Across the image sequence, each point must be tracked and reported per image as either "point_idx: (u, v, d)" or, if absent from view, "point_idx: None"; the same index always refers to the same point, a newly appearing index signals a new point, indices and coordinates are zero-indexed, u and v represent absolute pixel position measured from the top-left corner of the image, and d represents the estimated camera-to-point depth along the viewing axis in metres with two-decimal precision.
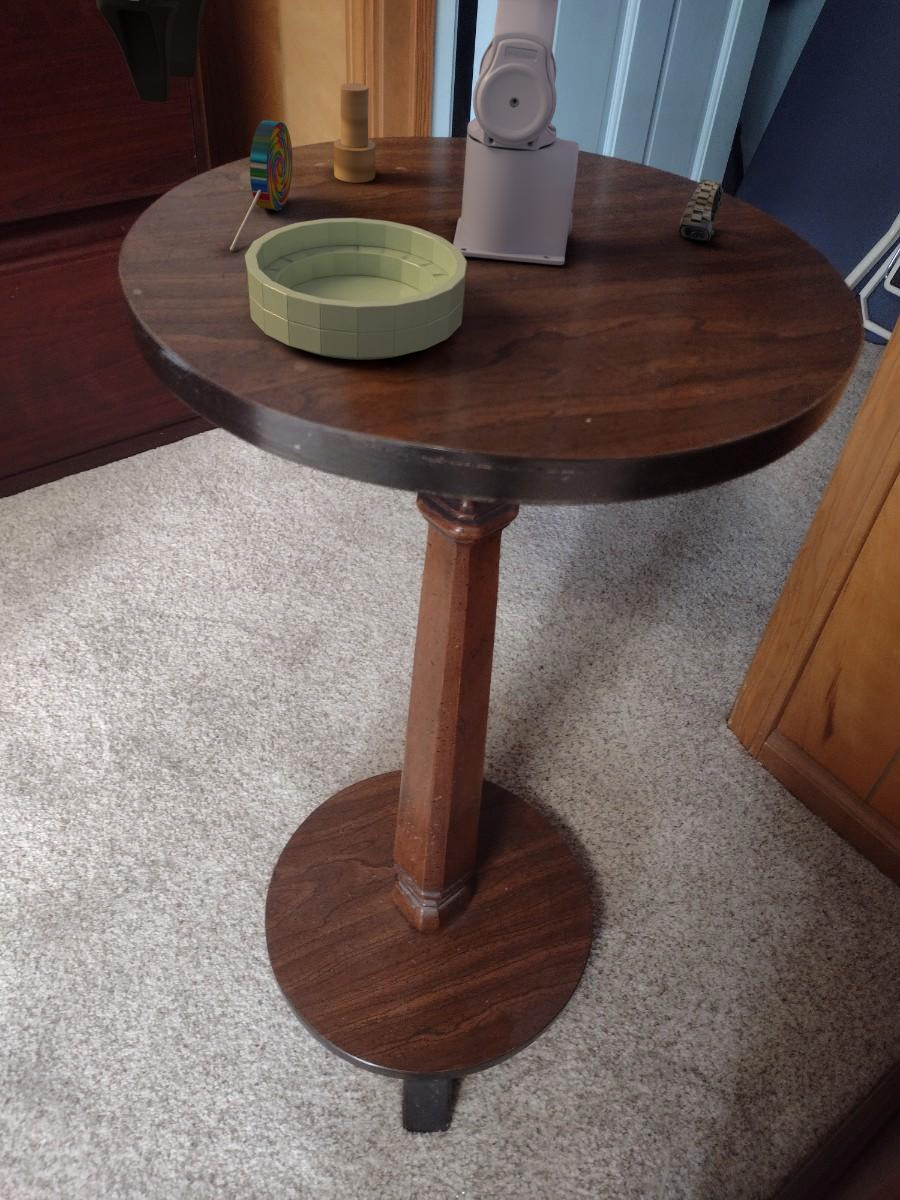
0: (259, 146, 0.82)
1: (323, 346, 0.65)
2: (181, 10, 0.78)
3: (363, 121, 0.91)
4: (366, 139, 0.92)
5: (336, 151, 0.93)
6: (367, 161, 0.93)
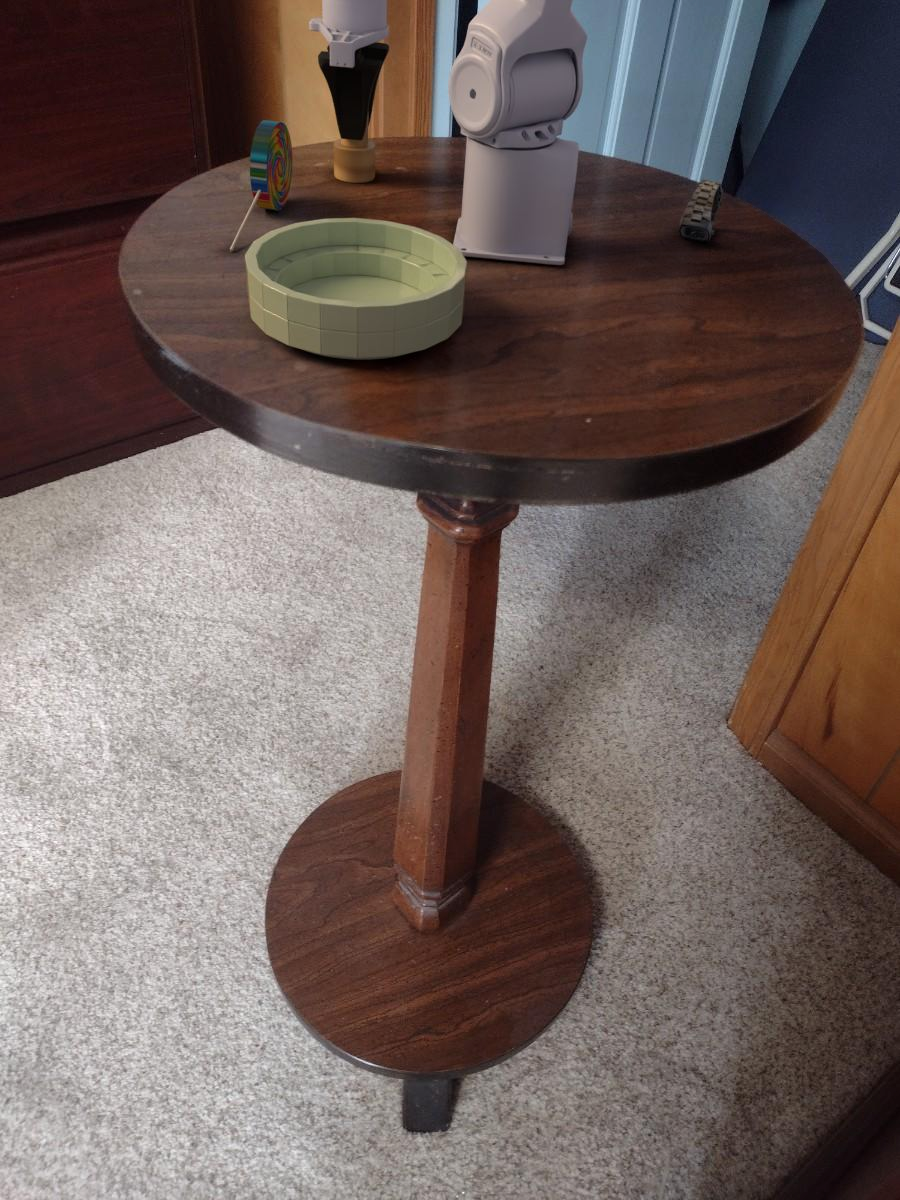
0: (259, 146, 0.82)
1: (323, 346, 0.65)
2: None
3: None
4: (366, 139, 0.92)
5: (336, 152, 0.93)
6: (367, 161, 0.93)
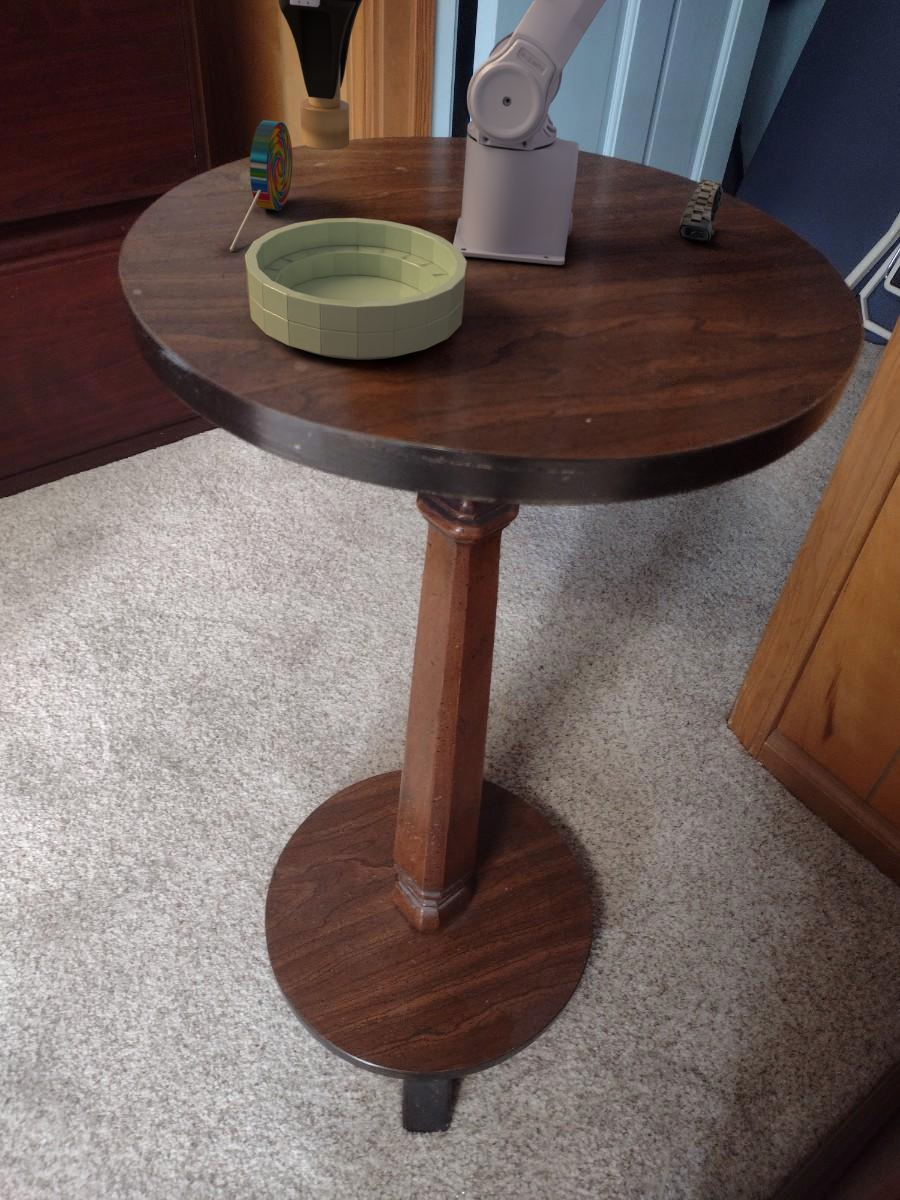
0: (259, 146, 0.82)
1: (323, 346, 0.65)
2: None
3: None
4: (338, 98, 0.79)
5: (302, 113, 0.79)
6: (339, 124, 0.80)
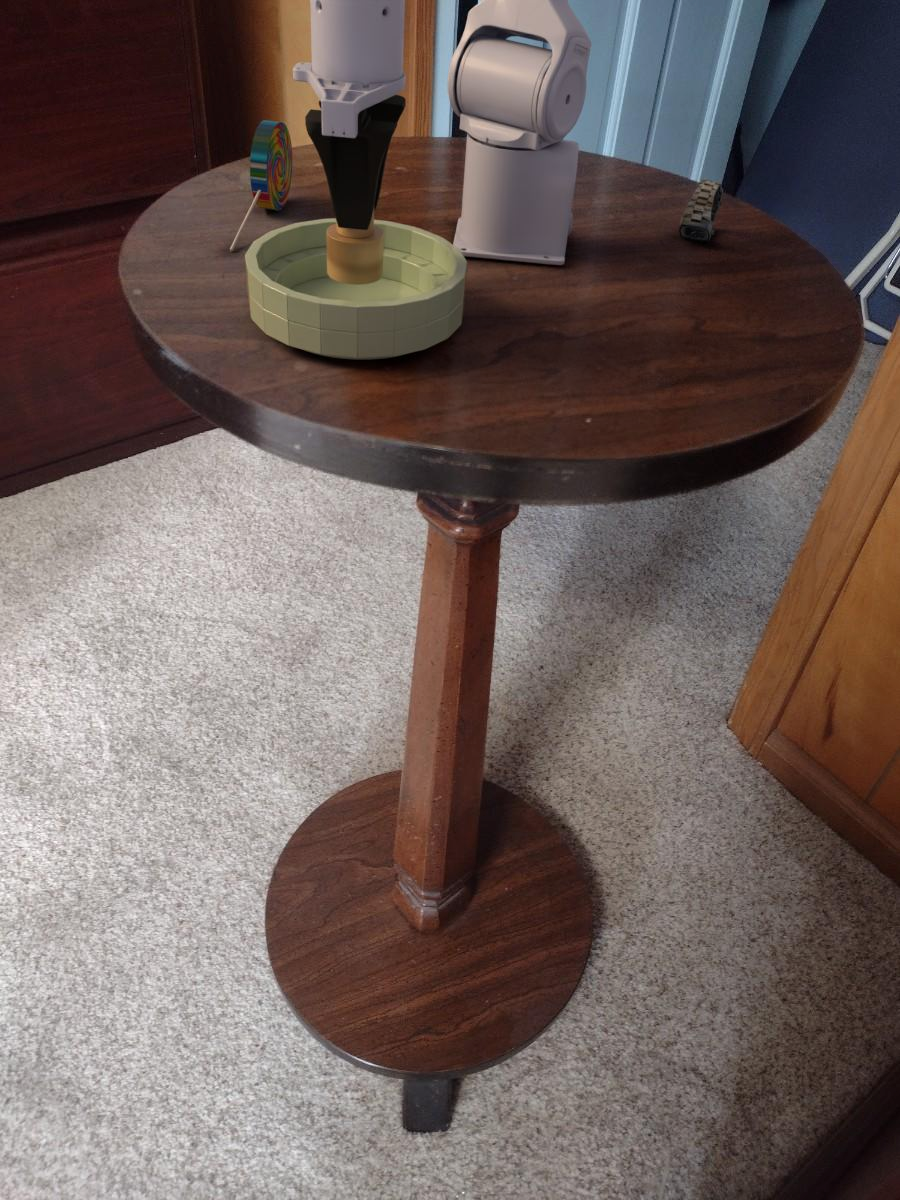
0: (259, 146, 0.82)
1: (323, 346, 0.65)
2: None
3: None
4: (371, 226, 0.67)
5: (329, 243, 0.67)
6: (373, 256, 0.67)
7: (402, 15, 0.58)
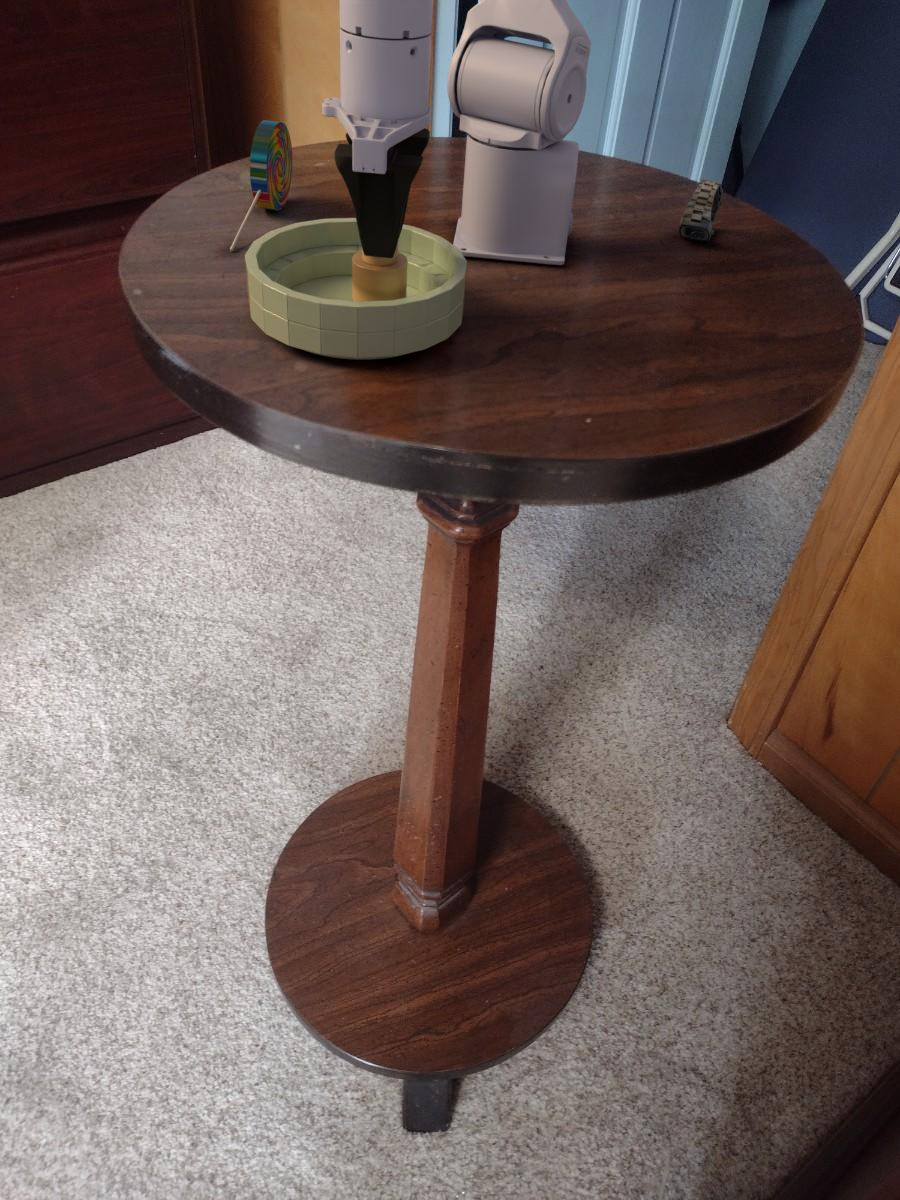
0: (259, 146, 0.82)
1: (323, 346, 0.65)
2: None
3: None
4: (396, 254, 0.69)
5: (355, 270, 0.69)
6: (397, 283, 0.69)
7: (429, 54, 0.60)
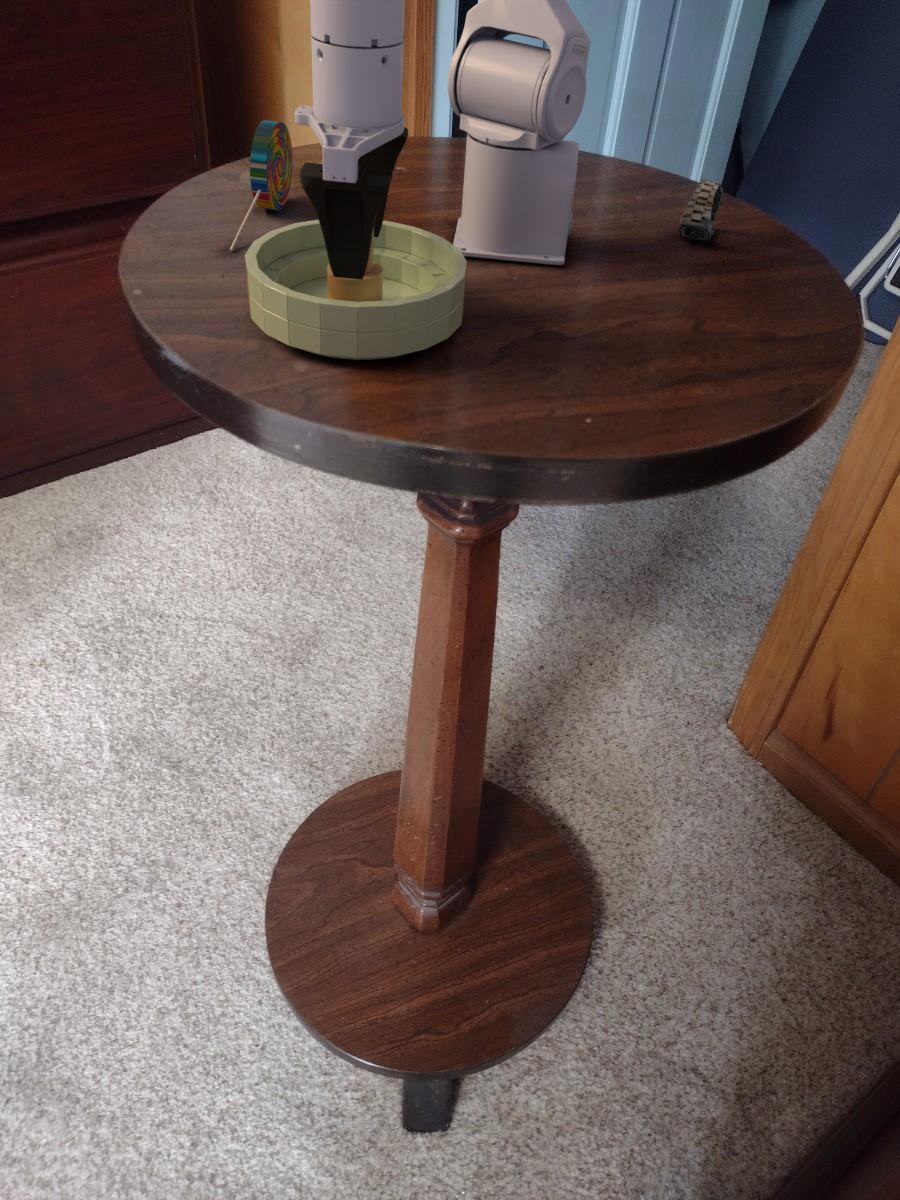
0: (259, 146, 0.82)
1: (323, 346, 0.65)
2: (373, 167, 0.68)
3: None
4: (371, 263, 0.69)
5: (330, 280, 0.69)
6: (372, 292, 0.69)
7: (401, 62, 0.60)
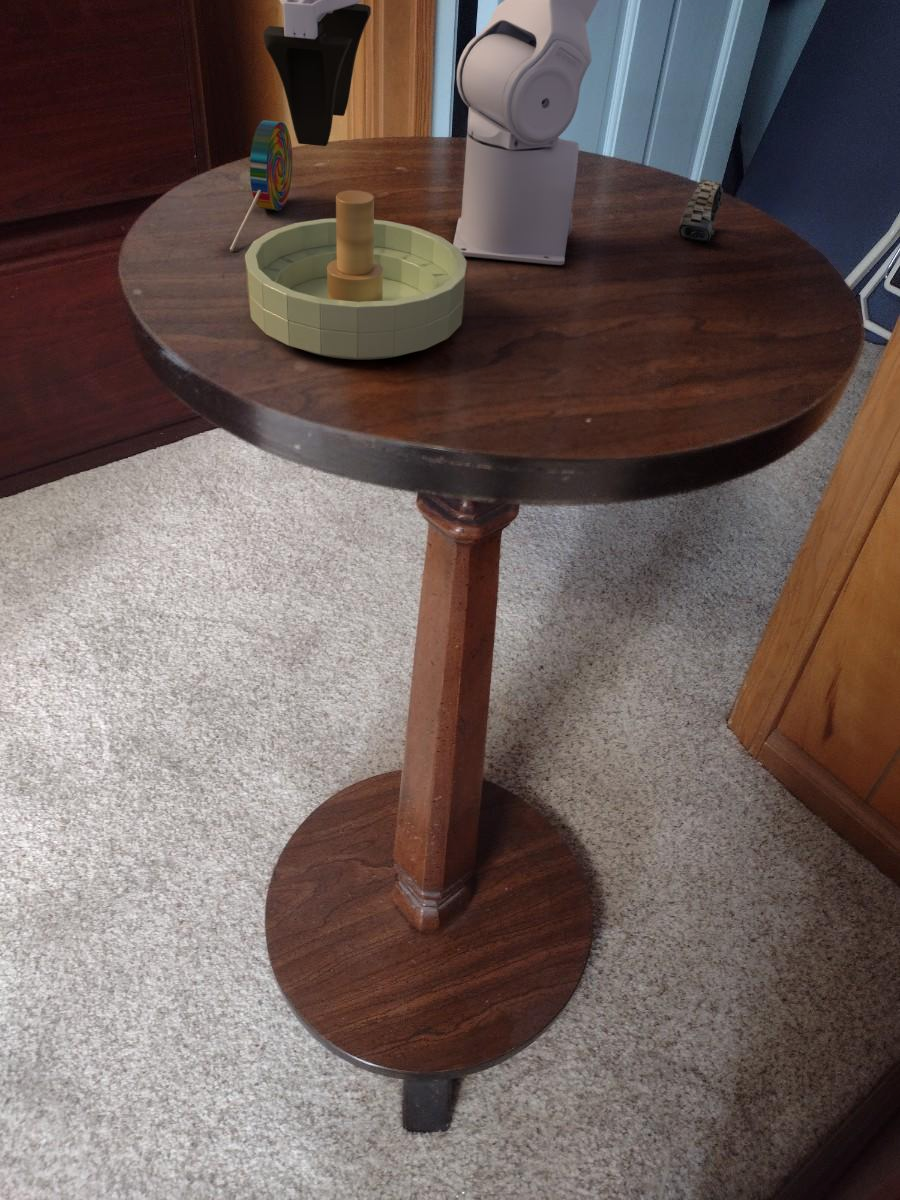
0: (259, 146, 0.82)
1: (323, 346, 0.65)
2: None
3: (367, 242, 0.67)
4: (371, 263, 0.69)
5: (330, 280, 0.69)
6: (372, 292, 0.69)
7: None
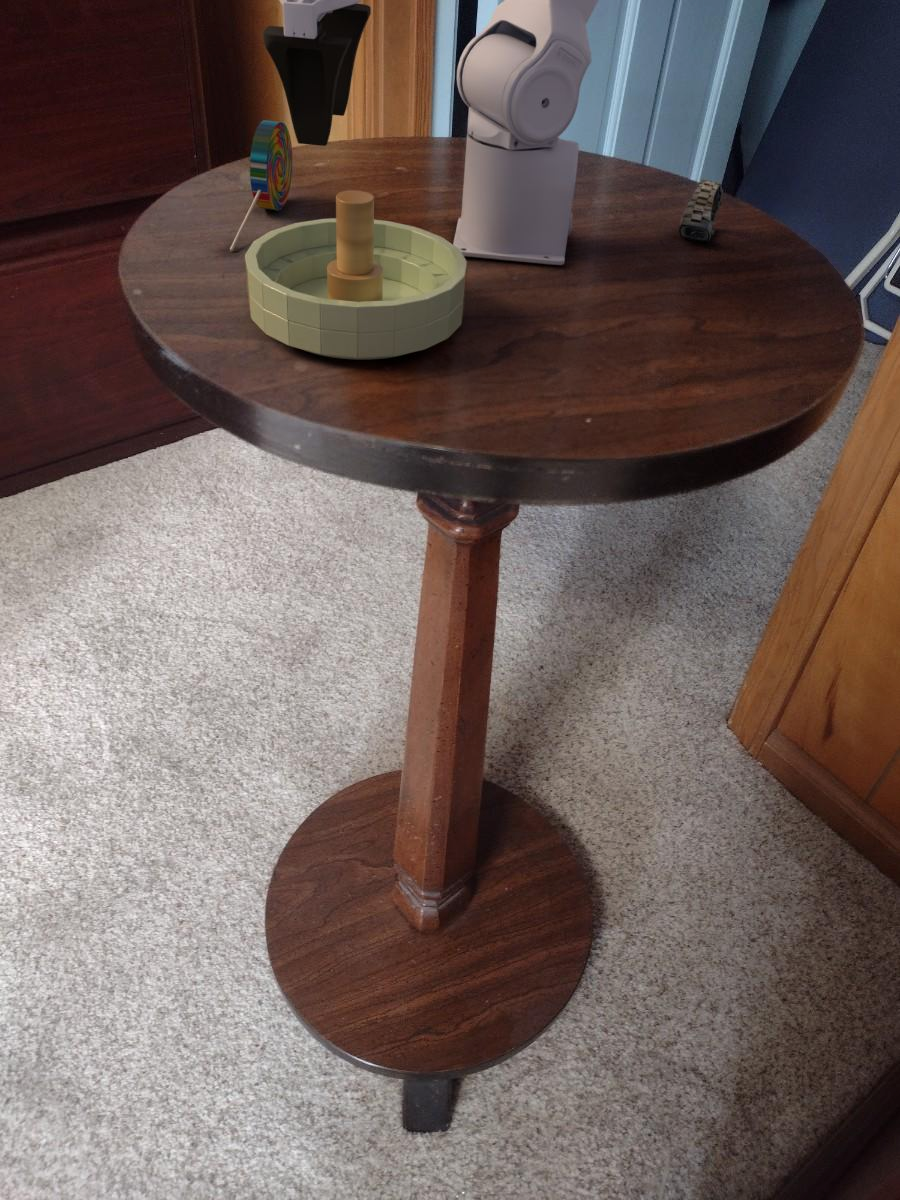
0: (259, 146, 0.82)
1: (323, 346, 0.65)
2: None
3: (367, 242, 0.67)
4: (371, 263, 0.69)
5: (330, 280, 0.69)
6: (372, 292, 0.69)
7: None
